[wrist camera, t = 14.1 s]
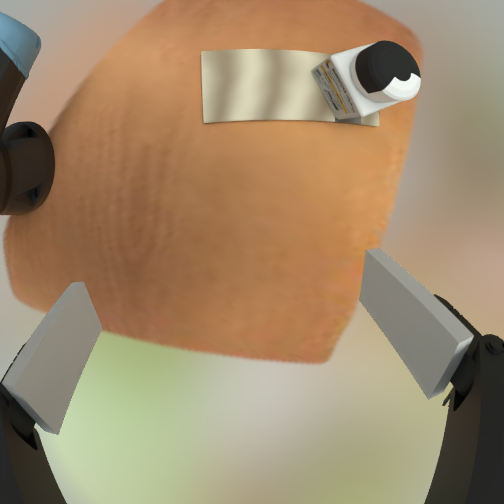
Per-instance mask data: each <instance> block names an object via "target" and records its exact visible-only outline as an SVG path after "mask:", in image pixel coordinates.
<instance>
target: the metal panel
mask: <svg viewBox="0 0 504 504" xmlns="http://www.w3.org/2000/svg"><path fill="white" fill-rule="evenodd" d="M331 55H332V54H325V53H316V52H307V51H295V50H277V49H233V50H216V51H204V52H201V64H202V95H203V118H204V123H216V122H231V121H253V120H301V121H323V122H338V123H349V124H359V125H368V126H379V111H376V112H374V113H372V114H369V115H367V116H365V117H356V118H347V119H337V118H336V117H335V115H334V113H333V111H332V109H331V107H330V105H329V103H328V101H327V99H326V97H325V95H324V94H323V92H322V90H321V88H320V86H319V84H318V83H317V81H316V79H315V77H314V76H313V74H312V72H311V71H312V69H313V68H315V67H316V66H317V65H319V64H320V63H322V62H323V61H324V60H326V59H327V58H329V57H330V56H331Z"/></svg>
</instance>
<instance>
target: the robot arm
mask: <svg viewBox="0 0 504 504" xmlns="http://www.w3.org/2000/svg"><path fill="white" fill-rule="evenodd" d="M40 48H41V40H40V37H39V36H38V35H37V34H36V33H35V32H34V31H33V30H31V29H30V28H28V27H27V26H26V25H24V24H22V23H21V22H19V21H17V20H16V19H14V18H12V17H10V16H8V15H6V14H4V13H2V12H0V215H23V214H26V213H28V212H30V211H32V210H34V209H36V208H37V207H39V206H40V205H41V204H42V203H43V201H44V200H45V198H46V197H47V195H48V193H49V191H50V188H51V185H52V181H53V176H54V152H53V147H52V144H51V141H50V138H49V136H48V134H47V133H46V131H45V130H44V129H43V128H42V127H41V126H40V125H38V124H37V123H34V122H17V123H14V124H12V125H10V126H8V127H6V124H7V121H8V118H9V116H10V113H11V111H12V108H13V106H14V103H15V101H16V99H17V97H18V94H19V92H20V90H21V88H22V86H23V84H24V82H25V80H26V79H27V78H28V76H29V71H30V69H31V67H32V65H33V62H34V61H35V59H36V57H37V55H38V53H39V51H40ZM5 127H6V128H5ZM359 300H360V302H361V303H362V304H363V306H364V307H365V308H366V310H367V311H368V312H369V314H370V315H371V316H372V318H373V319H374V320H375V322H376V323H377V325H378V326H379V327H380V329H381V330H382V332H383V333H384V334H385V336H386V337H387V339H388V340H389V342H390V343H391V344H392V346H393V347H394V349H395V350H396V352H397V353H398V354H399V356H400V357H401V359H402V360H403V362H404V363H405V365H406V366H407V367H408V369H409V371H410V372H411V374H412V375H413V377H414V378H415V380H416V381H417V383H418V384H419V386H420V387H421V389H422V390H423V392H424V394H425V395H426V397H427V398H428V399H430V398H432V397H434V396H436V395H438V394H440V393H442V392H443V391H444V390H445V388H446V386H447V385H448V383H449V382H451V383H452V384H453V386H454V387H453V388H452V390H451V391H450V393H449V394H448V396H447V397H446V399H445V400H444V402H443V406H445V405H446V403H447V402H448V400H449V399H450V402H449V406H448V407H449V409H448V415H447V422H446V427H445V432H444V437H443V442H442V447H441V451H440V456H439V459H438V463H437V466H436V470H435V473H434V477H433V480H432V483H431V486H430V489H429V492H428V495H427V498H426V500H425V503H424V504H504V341H503V340H502V339H500V338H499V337H498V336H495V335H492V334H487V335H484V336H482V335H481V334H480V333H479V332H478V331H477V330H476V329H475V328H474V327H473V326H472V325H471V324H470V323H469V322H468V321H467V320H466V319H465V318H464V317H463V316H462V315H460V314H459V312H458V311H457V310H456V309H454V308H453V306H452V305H451V304H450V303H449V302H447V301H446V300H445V299H443V298H441V297H439V296H437V295H433V294H431V293H430V292H429V291H428V290H427V289H426V288H425V287H424V286H423V285H421V283H419V282H418V281H417V280H416V279H415V278H414V277H413V276H412V275H410V274H409V273H408V272H407V271H406V270H405V269H403V268H402V267H401V266H400V265H399V264H398V263H397V262H395V261H394V260H393V259H392V258H391V257H389V256H388V255H387V254H386V253H385V252H383V251H382V250H381V249H380V248H378V249H370V250H366V253H365V262H364V270H363V278H362V285H361V292H360V299H359ZM102 328H103V327H102V325H101V323H100V321H99V318H98V316H97V314H96V311H95V309H94V307H93V304H92V302H91V299H90V297H89V294H88V291H87V289H86V286H85V283H84V281H83V282H72V283H71V284H70V285H69V286H68V288H67V289H66V290H65V291H64V293H63V294H62V295H61V296H60V298H59V299H58V300H57V301H56V303H55V304H54V305H53V307H52V308H51V309H50V311H49V312H48V313H47V315H46V316H45V317H44V319H43V320H42V321H41V323H40V324H39V325H38V327H37V329H36V330H35V331H34V333H33V334H32V335H31V337H30V338H29V340H28V341H27V342H26V343H25V344H24V345H23V346H22V348H21V349H20V351H19V352H18V356H16V357H15V359H14V360H13V363H12V364H11V365H10V367H9V369H8V370H7V372H6V374H5V375H4V377H3V379H2V380H1V382H0V504H67V503H66V501H65V499H64V497H63V495H62V493H61V491H60V489H59V487H58V485H57V482H56V480H55V478H54V475H53V473H52V471H51V468H50V466H49V463H48V461H47V457H46V455H45V452H44V449H43V446H42V443H41V440H40V437H39V434H38V432H37V430H36V429H35V428H34V425H35V423H37V424H38V425H39V426H40V427H41V428H42V429H43V430H44V431H46V432H50V433H53V434H57V435H58V434H59V431H60V428H61V426H62V423H63V420H64V417H65V414H66V411H67V409H68V406H69V403H70V401H71V398H72V396H73V393H74V391H75V388H76V386H77V383H78V381H79V379H80V376H81V374H82V371H83V369H84V367H85V364H86V362H87V360H88V358H89V356H90V353H91V351H92V349H93V347H94V345H95V343H96V341H97V338H98V336H99V334H100V332H101V330H102Z"/></svg>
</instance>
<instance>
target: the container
mask: <svg viewBox="0 0 504 504" xmlns="http://www.w3.org/2000/svg"><path fill="white" fill-rule="evenodd" d="M311 72H312V74H313V76H314V77H315V79H316V81H317V83H318V84H319V86H320V88H321V90H322V92H323V94H324V95H325V97H326V99H327V101H328V103H329V105H330V107H331V109H332V111H333V113H334V115H335V117H336V118H337V119H347V118H356V117H365V116H367V115H369V114H372V113H374V112H376V111H379V110H381V109H384V108H386V107H388V106H391V105H393V104H396V103H399V102H401V101H404V100H409V99H411V98H413V97H414V96H415V95H416V94H417V92H418V90H419V88H420V81H421V77H420V71H419V68H418V65H417V63H416V61H415V60H414V58H413V57H412V55H411V54H410V53H409V52H408V51H407V50H406V49H404V48H403V47H402V46H400V45H399V44H397V43H394V42H391V41H379V42H377V43H373V44H369V45H365V46H361V47H357V48H354V49H350V50H347V51H343V52H340V53H337V54H334V55H331V56H330V57H329V58H327V59H326V60H324V61H323V62H322V63H320V64H319V65H317V66H316V67H315V68H313V69H312V71H311Z"/></svg>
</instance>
